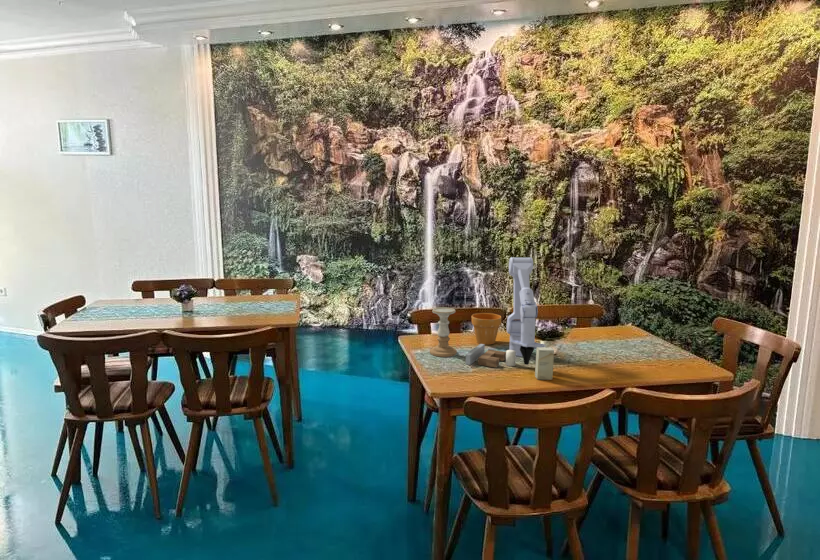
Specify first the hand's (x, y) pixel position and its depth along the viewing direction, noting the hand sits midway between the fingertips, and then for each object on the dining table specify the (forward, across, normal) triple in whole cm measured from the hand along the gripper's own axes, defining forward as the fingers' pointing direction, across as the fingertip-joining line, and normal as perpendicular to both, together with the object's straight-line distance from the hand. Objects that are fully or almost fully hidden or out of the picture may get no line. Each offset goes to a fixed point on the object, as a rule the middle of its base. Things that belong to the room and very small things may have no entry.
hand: (526, 363), depth 249 cm
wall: (+1, -23, 0) cm, 23 cm away
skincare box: (+2, +10, -10) cm, 14 cm away
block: (+1, -15, 0) cm, 15 cm away
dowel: (+1, -7, 0) cm, 7 cm away
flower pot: (+2, -28, +28) cm, 40 cm away
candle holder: (+2, -39, +2) cm, 39 cm away
